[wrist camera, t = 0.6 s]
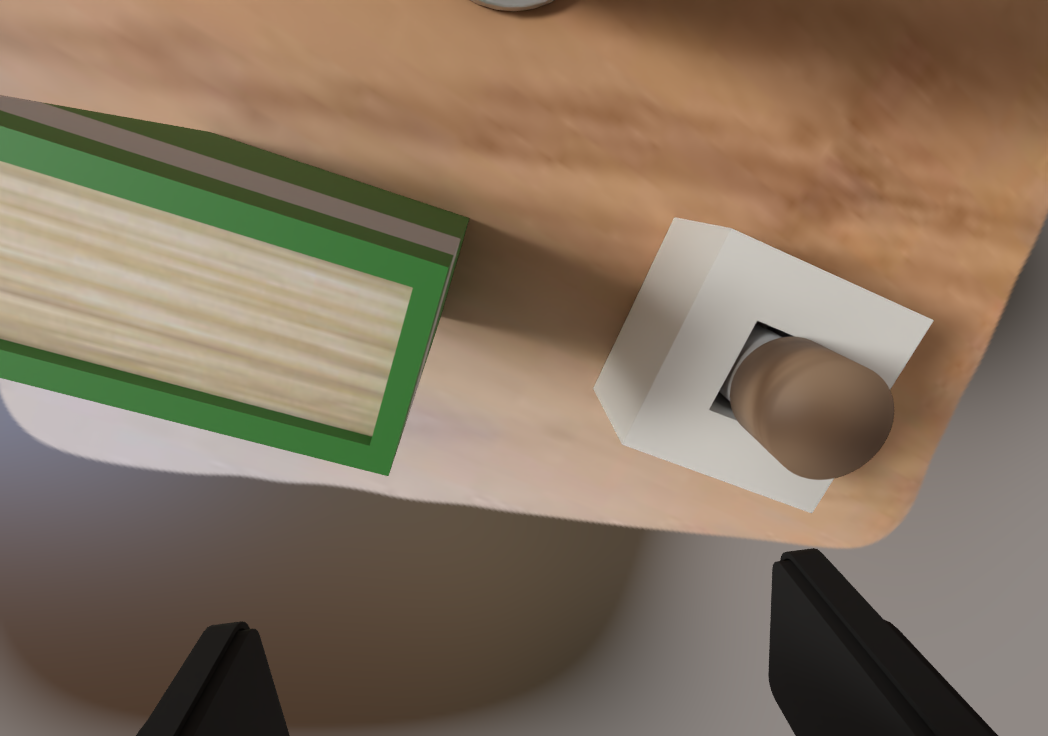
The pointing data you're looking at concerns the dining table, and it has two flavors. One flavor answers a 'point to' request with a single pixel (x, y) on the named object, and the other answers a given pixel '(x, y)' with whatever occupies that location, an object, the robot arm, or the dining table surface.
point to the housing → (734, 350)
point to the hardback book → (215, 282)
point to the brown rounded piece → (808, 404)
